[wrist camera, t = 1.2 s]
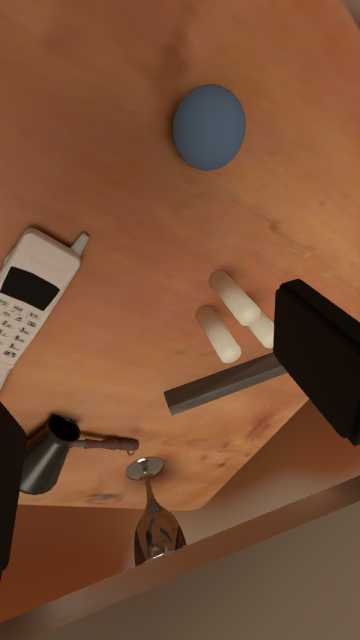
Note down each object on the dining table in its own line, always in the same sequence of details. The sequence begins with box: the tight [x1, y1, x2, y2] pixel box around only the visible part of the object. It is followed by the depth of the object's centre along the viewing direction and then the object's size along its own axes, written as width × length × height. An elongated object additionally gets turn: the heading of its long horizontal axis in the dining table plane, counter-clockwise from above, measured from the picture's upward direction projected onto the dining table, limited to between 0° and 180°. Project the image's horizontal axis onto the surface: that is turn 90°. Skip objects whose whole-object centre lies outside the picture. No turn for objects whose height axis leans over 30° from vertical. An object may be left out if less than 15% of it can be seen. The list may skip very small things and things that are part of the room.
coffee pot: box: [20, 414, 139, 495], centre depth 44 cm, size 8×18×8 cm
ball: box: [173, 84, 245, 170], centre depth 25 cm, size 6×6×6 cm
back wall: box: [164, 352, 288, 416], centre depth 46 cm, size 2×22×3 cm, turn 102°
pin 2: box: [248, 311, 274, 348], centre depth 36 cm, size 2×2×8 cm
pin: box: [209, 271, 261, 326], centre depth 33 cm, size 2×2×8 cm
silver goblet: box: [126, 457, 187, 567], centre depth 49 cm, size 8×8×15 cm
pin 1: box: [196, 306, 241, 363], centre depth 36 cm, size 2×2×8 cm
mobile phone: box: [0, 228, 89, 389], centre depth 30 cm, size 6×6×25 cm
